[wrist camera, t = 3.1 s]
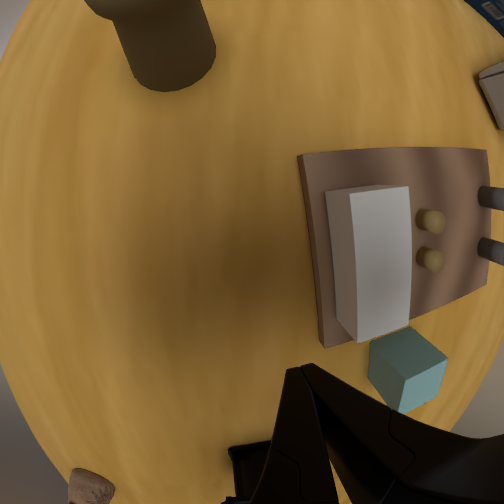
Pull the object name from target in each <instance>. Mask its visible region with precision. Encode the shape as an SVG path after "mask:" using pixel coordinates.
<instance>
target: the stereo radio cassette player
mask: <svg viewBox="0 0 504 504" xmlns="http://www.w3.org/2000/svg"><path fill="white" fill-rule="evenodd" d="M480 78H481V79H480ZM479 79H480V80H479V84H480V87H481V88H482V90H483V92H484V94H485V97H486V99H487V101H488V103H489V105H490V108H491V110H492V112H493V114H494V117H495V119H496V121H497V125H498V126H499V128H500V129H501V130H504V61H503V62H500V63H498V64H496V65H493V66H491V67H489V68H487V69H485V70H483V71H481V72H480V73H479Z"/></svg>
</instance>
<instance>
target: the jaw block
mask: <svg viewBox="0 0 504 504" xmlns="http://www.w3.org/2000/svg"><path fill="white" fill-rule="evenodd" d="M447 362H448V357H446V356H445V355H444V354H443V353H442V352H441V351H439V350H438V349H437V348H436V347H435V346H433V345H432V344H431V343H430V342H429V341H427V340H426V339H425V338H424V337H423V336H421V335H420V334H419V333H418V332H417V331H415V330H414V329H413V328H412V327H407V328H405V329H402V330H400V331H397V332H395V333H392V334H389V335H387V336H384V337H381V338H379V339H376V340H373V341H370V357H369V370H368V379H369V380H370V382H371V383H372V384H373V386H374V387H375V388H376V390H377V391H378V393H379V394H380V395H381V397H382V398H383V400H384V401H385V402H386V404H387V405H388V406H389V407H390V408H391V410H392V409H394V410H396V411H398V412H400V413H402V414H405V413H407V412H409V411H411V410H413V409H415V408H417V407H418V406H420V405H422V404H424V403H426V402H428V401H429V400H431V399H433V398H435V397H436V396H437V395H438V392H439V389H440V386H441V382H442V379H443V376H444V373H445V369H446V365H447Z"/></svg>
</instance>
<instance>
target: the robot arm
mask: <svg viewBox="0 0 504 504" xmlns="http://www.w3.org/2000/svg"><path fill="white" fill-rule="evenodd" d="M228 454H229V456H230V458H231V460H232V462H233V473H234V483H235V494H236V497H231V496H229V497H226V501H225V502H222V503H221V504H339V503H338V502H339V500H338V495H337V491H336V487H335V482H334V478H333V474H332V469H331V465H330V461H331V463H332V465H333V467H334V469H335V471H336V473H337V475H338V477H339V479H340V481H341V483H342V485H343V487H344V489H345V491H346V493H347V494H348V496H349V498H350V500H351V502H352V504H504V434H502V435H498V436H494V437H490V438H482V439H478V438H469V437H465V436H461V435H458V434H454V433H451V432H448V431H445V430H442V429H438V428H435V427H432V426H430V425H427V424H424V423H422V422H419V421H417V420H414V419H412V418H410V417H408V416H406V415H404V414H402V413H400V412H398V411H396V410H394V409H392V410H391V408H390V407H388V406H386V405H384V404H383V403H381V402H379V401H377V400H375V399H373V398H372V397H370V396H368V395H366V394H364V393H363V392H361V391H359V390H357V389H356V388H354V387H352V386H350V385H349V384H347V383H345V382H344V381H342V380H340V379H338V378H337V377H335V376H333V375H332V374H330V373H328V372H327V371H325V370H323V369H322V368H320V367H319V366H317V365H315V364H314V363H309V364H305V365H302V366H300V367H294V368H289V369H287V370H286V374H285V379H284V384H283V389H282V394H281V399H280V404H279V409H278V413H277V418H276V422H275V427H274V431H273V436H272V440H271V441H269V442H264V443H259V444H253V445H247V446H240V447H233V448H229V449H228ZM329 459H330V461H329Z"/></svg>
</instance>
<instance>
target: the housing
mask: <svg viewBox="0 0 504 504" xmlns="http://www.w3.org/2000/svg"><path fill="white" fill-rule="evenodd" d="M325 197H326V204H327V211H328V219H329V228H330V237H331V246H332V257H333V268H334V281H335V296H336V314H337V320H338V321H339V322H340V324H341V325H342V326H343V327H344V328H345V330H346V331H347V332H348V333H349V334H350V336H351V337H352V338H353V339H354V340H355V342H356V343H357V344H358V343H361V342H364V341H367V340H370V339H372V338H375V337H378V336H381V335H384V334H386V333H389V332H392V331H394V330H397V329H400V328H402V327H405V326H407V325H408V322H409V311H410V298H411V277H412V233H411V212H410V199H409V188H408V186H395V185H370V186H362V187H355V188H347V189H340V190H333V191H326V192H325Z"/></svg>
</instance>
